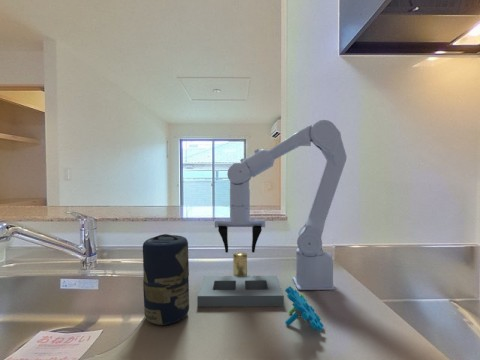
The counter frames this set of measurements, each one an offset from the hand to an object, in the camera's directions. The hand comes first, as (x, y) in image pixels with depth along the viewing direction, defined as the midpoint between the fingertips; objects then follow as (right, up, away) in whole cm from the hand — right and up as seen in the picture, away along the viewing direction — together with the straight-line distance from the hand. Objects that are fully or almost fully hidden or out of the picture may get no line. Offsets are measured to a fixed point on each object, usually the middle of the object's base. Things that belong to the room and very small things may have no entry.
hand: (240, 251), depth 82 cm
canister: (-16, -9, -21) cm, 28 cm away
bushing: (0, -8, 0) cm, 8 cm away
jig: (0, -8, -11) cm, 13 cm away
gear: (+13, -9, -24) cm, 29 cm away
